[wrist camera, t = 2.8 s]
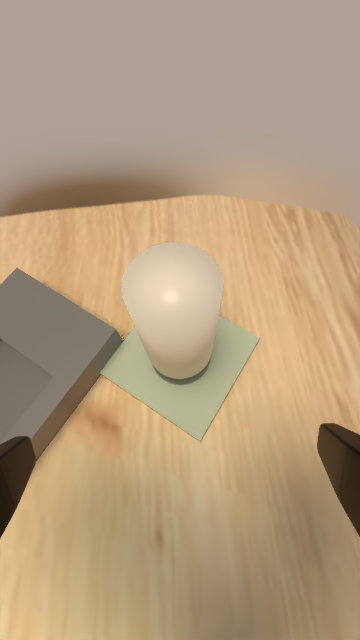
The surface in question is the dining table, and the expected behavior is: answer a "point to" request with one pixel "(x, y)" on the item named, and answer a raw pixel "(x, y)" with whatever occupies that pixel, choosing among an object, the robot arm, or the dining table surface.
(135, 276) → the cream rounded peg
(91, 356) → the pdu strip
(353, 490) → the robot arm
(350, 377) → the dining table surface
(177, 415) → the coaster
